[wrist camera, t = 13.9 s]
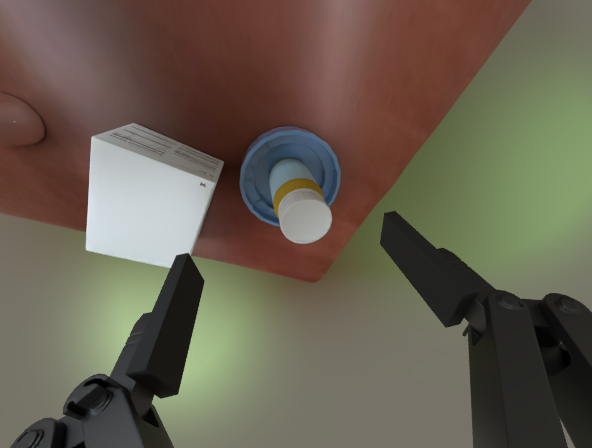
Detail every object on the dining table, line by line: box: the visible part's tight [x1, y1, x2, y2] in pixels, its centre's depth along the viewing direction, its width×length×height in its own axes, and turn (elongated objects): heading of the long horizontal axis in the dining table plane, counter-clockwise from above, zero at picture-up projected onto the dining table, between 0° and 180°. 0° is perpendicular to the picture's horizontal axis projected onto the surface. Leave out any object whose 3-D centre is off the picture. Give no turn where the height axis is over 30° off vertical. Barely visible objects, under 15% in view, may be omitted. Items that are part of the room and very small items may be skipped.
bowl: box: [239, 126, 341, 226], centre depth 36 cm, size 16×16×4 cm
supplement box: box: [86, 123, 224, 268], centre depth 32 cm, size 17×13×9 cm
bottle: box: [269, 158, 332, 244], centre depth 31 cm, size 7×7×15 cm
